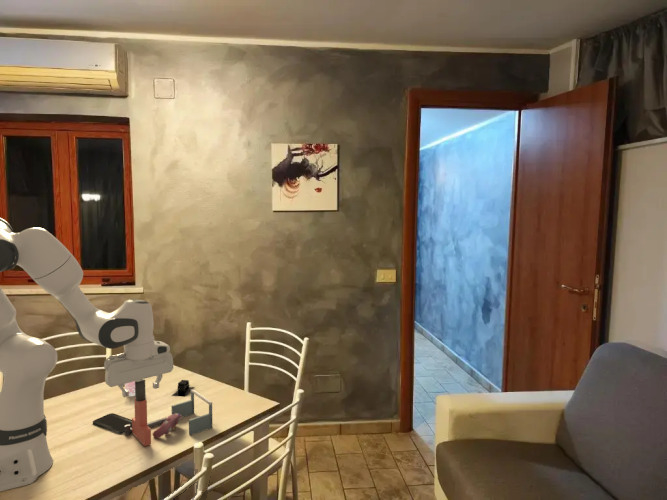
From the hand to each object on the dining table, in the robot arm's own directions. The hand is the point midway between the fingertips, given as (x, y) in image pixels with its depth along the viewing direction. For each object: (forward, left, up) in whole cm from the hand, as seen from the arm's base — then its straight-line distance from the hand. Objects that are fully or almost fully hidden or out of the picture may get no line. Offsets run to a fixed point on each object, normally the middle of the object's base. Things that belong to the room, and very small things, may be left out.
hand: (141, 391), depth 145 cm
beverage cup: (+10, +38, -16) cm, 42 cm away
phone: (-3, +16, -16) cm, 23 cm away
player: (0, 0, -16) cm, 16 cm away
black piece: (+26, +27, -17) cm, 41 cm away
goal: (+17, 0, -16) cm, 23 cm away
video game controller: (+8, -1, -16) cm, 18 cm away
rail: (+4, +6, -16) cm, 18 cm away
